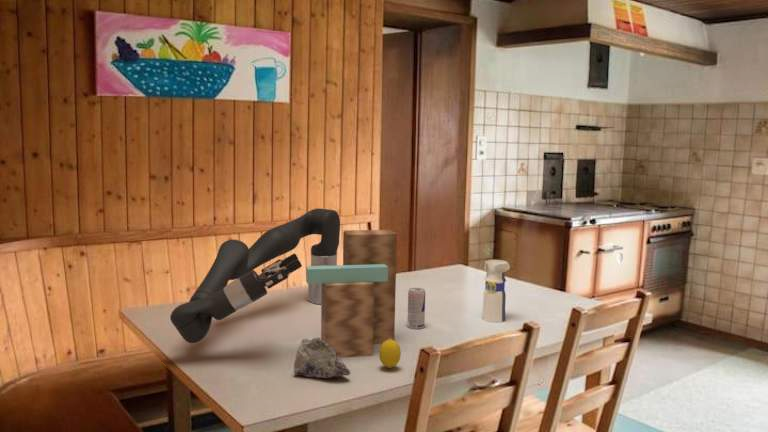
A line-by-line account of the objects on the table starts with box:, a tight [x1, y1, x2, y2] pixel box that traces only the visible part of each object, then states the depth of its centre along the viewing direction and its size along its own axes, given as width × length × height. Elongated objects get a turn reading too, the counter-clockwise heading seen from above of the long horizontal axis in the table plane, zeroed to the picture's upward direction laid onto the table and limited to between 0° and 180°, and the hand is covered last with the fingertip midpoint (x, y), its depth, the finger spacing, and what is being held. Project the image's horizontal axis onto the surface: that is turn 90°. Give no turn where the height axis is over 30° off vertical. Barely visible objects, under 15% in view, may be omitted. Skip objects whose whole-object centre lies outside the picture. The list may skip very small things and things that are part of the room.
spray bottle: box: [481, 245, 511, 323], centre depth 216 cm, size 8×9×25 cm
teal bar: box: [305, 264, 388, 284], centre depth 180 cm, size 22×4×4 cm, turn 104°
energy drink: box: [406, 287, 426, 330], centre depth 206 cm, size 5×5×12 cm
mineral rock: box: [293, 337, 351, 379], centre depth 163 cm, size 13×11×10 cm
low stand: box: [320, 282, 374, 358], centre depth 181 cm, size 13×9×20 cm
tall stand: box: [342, 229, 398, 345], centre depth 191 cm, size 14×8×32 cm, turn 103°
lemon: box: [378, 339, 402, 370], centre depth 170 cm, size 6×6×8 cm
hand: (298, 259), depth 176 cm, fingers open, 8 cm apart
